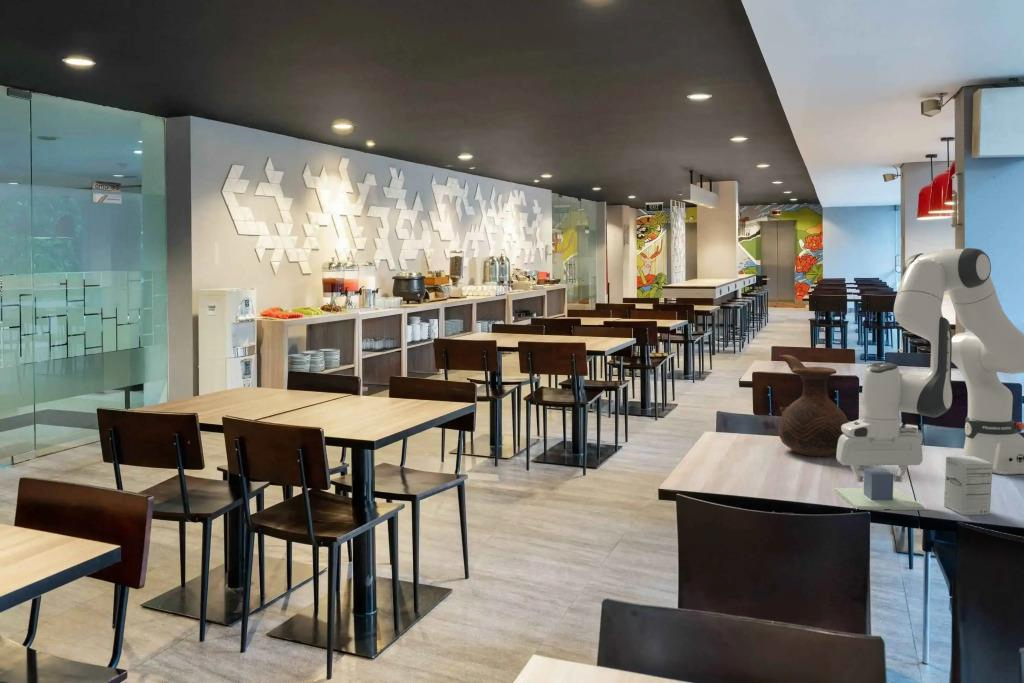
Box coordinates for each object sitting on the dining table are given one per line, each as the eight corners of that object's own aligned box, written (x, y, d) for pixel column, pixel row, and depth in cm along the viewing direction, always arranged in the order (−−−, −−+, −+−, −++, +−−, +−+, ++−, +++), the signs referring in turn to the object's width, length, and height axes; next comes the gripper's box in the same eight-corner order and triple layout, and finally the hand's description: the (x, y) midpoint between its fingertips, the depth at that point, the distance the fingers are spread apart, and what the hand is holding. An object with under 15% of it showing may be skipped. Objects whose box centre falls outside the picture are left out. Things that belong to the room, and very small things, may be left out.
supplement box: (942, 506, 200) (944, 456, 199) (971, 505, 201) (973, 455, 199) (961, 515, 193) (964, 463, 192) (991, 514, 193) (993, 462, 192)
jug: (835, 443, 268) (838, 353, 265) (862, 459, 246) (865, 361, 243) (769, 444, 268) (770, 353, 265) (789, 460, 247) (792, 362, 244)
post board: (896, 491, 213) (897, 469, 213) (924, 510, 197) (925, 486, 197) (834, 490, 214) (835, 469, 214) (856, 509, 198) (857, 486, 198)
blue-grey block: (884, 494, 208) (885, 468, 207) (892, 500, 203) (893, 474, 202) (863, 494, 208) (864, 468, 208) (871, 500, 203) (872, 474, 203)
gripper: (917, 425, 206) (915, 478, 208) (834, 425, 208) (833, 478, 209) (928, 430, 200) (926, 485, 202) (843, 430, 201) (841, 485, 203)
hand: (878, 481), depth 205 cm, fingers open, 8 cm apart
